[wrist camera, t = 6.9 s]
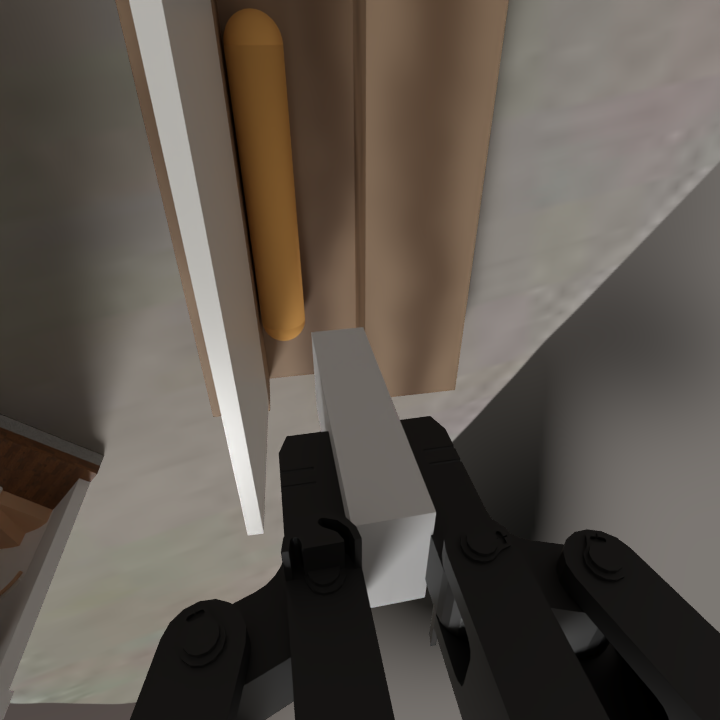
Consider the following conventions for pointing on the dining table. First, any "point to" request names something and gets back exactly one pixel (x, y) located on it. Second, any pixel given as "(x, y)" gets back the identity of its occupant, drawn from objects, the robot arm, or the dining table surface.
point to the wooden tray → (370, 174)
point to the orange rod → (266, 166)
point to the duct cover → (210, 223)
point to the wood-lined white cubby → (33, 528)
